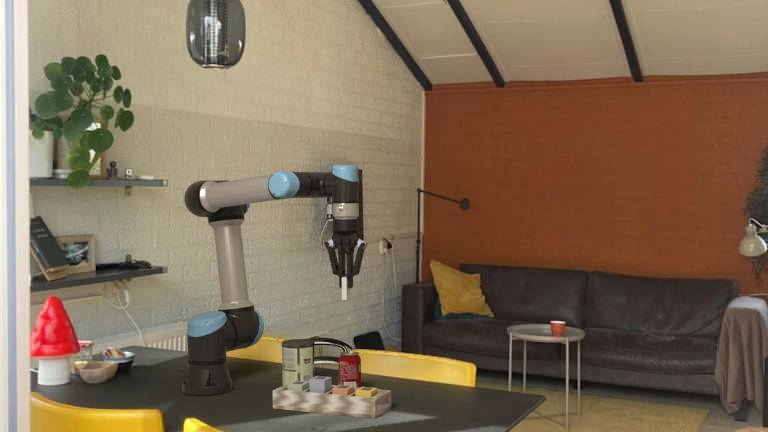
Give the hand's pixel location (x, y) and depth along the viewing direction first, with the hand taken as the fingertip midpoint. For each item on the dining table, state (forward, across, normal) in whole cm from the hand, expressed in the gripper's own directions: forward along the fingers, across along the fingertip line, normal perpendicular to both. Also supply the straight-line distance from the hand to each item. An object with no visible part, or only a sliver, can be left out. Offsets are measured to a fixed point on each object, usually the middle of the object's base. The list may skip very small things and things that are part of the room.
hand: (346, 299), depth 245 cm
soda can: (+30, -3, +9) cm, 31 cm away
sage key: (+28, -11, -10) cm, 32 cm away
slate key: (+26, -3, -10) cm, 28 cm away
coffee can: (+30, -21, +10) cm, 38 cm away
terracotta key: (+28, +3, -10) cm, 30 cm away
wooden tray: (+29, 0, -10) cm, 31 cm away
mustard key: (+28, +10, -10) cm, 32 cm away
